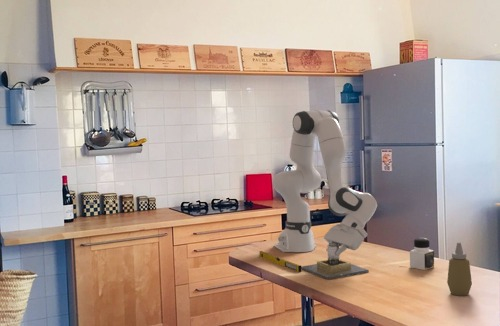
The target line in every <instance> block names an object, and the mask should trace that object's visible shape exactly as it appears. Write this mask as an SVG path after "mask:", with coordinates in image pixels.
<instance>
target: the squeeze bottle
mask: <svg viewBox="0 0 500 326" xmlns="http://www.w3.org/2000/svg"><path fill="white" fill-rule="evenodd" d="M455 247H456V248H455V251H454V252H453V251H452V253H451V258H450V259H449V260H448V261H449V263H448V270H447V271H448V272H447V281H446V282H447V286H448V288H449V291H450V294H452V295H454V296H460V297H462V296H464V297H465V296H467V295H468V296H469V293H470V291H471V288H472V284H473V283H472V275H471V264H470V260H469V259H468V258H467V253H466V252H464V250H463V246H462V242H457V243H456V246H455Z"/></svg>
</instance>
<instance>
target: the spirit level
mask: <svg viewBox="0 0 500 326" xmlns="http://www.w3.org/2000/svg"><path fill="white" fill-rule="evenodd" d="M259 258H261V259H263V260H267V261H269V262H271V263H274V264H277V265H279V266H282V267H284V268H287V269H290V270H292V271H294V272H297V273H301V272H302V269H301V267H302V265H300V264H297V263H294V262H292V261H289V260H287V259H284V258H279V257H278V256H275V255H273V254H270V253H267V252H264V251H262V250H259Z"/></svg>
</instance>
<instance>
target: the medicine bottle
mask: <svg viewBox="0 0 500 326" xmlns="http://www.w3.org/2000/svg"><path fill="white" fill-rule="evenodd" d="M413 247H414V249H411V250H409V267H410V268H412V269H418V270H421V271H427V270H429V269H432V268H434V267H435V250H433V249H430V240H429V239H428V238H425V237H417V238H415V239H414V240H413Z"/></svg>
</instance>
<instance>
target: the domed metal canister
mask: <svg viewBox="0 0 500 326" xmlns="http://www.w3.org/2000/svg"><path fill="white" fill-rule="evenodd" d="M326 248H328V252H327V260H328V265H331V266H332V265H338V264H340V260H341V259H340V255H339V256H338V255H336V254H335V251H336V250H338V249H339V248H340V246H339V245H338V243H335V242H332V243H328V244H327V247H326Z"/></svg>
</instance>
